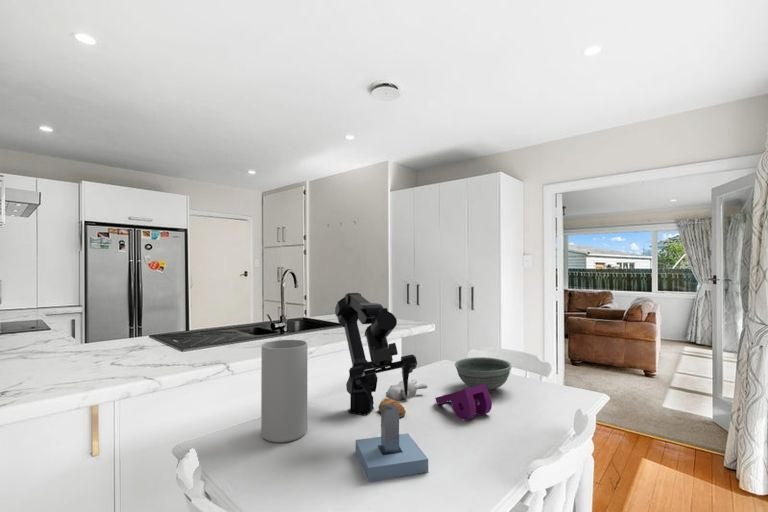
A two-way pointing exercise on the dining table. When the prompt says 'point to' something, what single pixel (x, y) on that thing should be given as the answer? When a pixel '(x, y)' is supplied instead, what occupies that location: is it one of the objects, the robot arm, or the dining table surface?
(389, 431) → the grey tapered peg
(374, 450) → the blue square washer
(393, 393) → the bunny figurine
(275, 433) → the cylinder vase
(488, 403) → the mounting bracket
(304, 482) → the dining table surface
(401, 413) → the pastry
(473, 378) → the bowl
